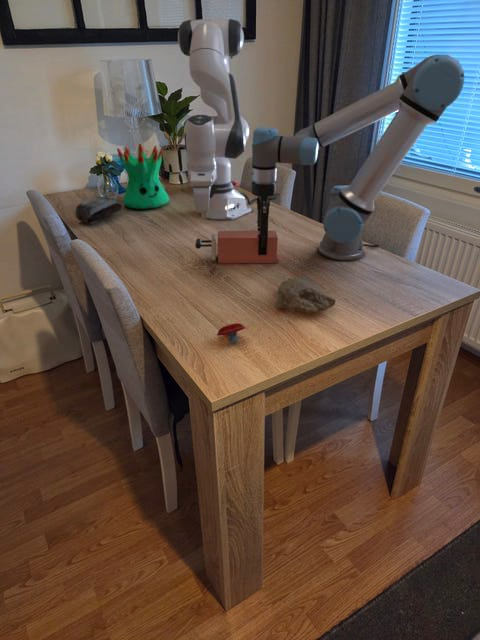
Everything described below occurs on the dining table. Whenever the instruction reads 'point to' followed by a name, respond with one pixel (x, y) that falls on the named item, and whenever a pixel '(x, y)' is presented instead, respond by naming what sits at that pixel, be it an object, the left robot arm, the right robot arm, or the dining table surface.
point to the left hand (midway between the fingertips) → (204, 217)
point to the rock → (96, 209)
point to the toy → (143, 179)
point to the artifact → (302, 296)
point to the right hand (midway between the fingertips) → (261, 250)
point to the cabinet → (245, 247)
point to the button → (231, 331)
